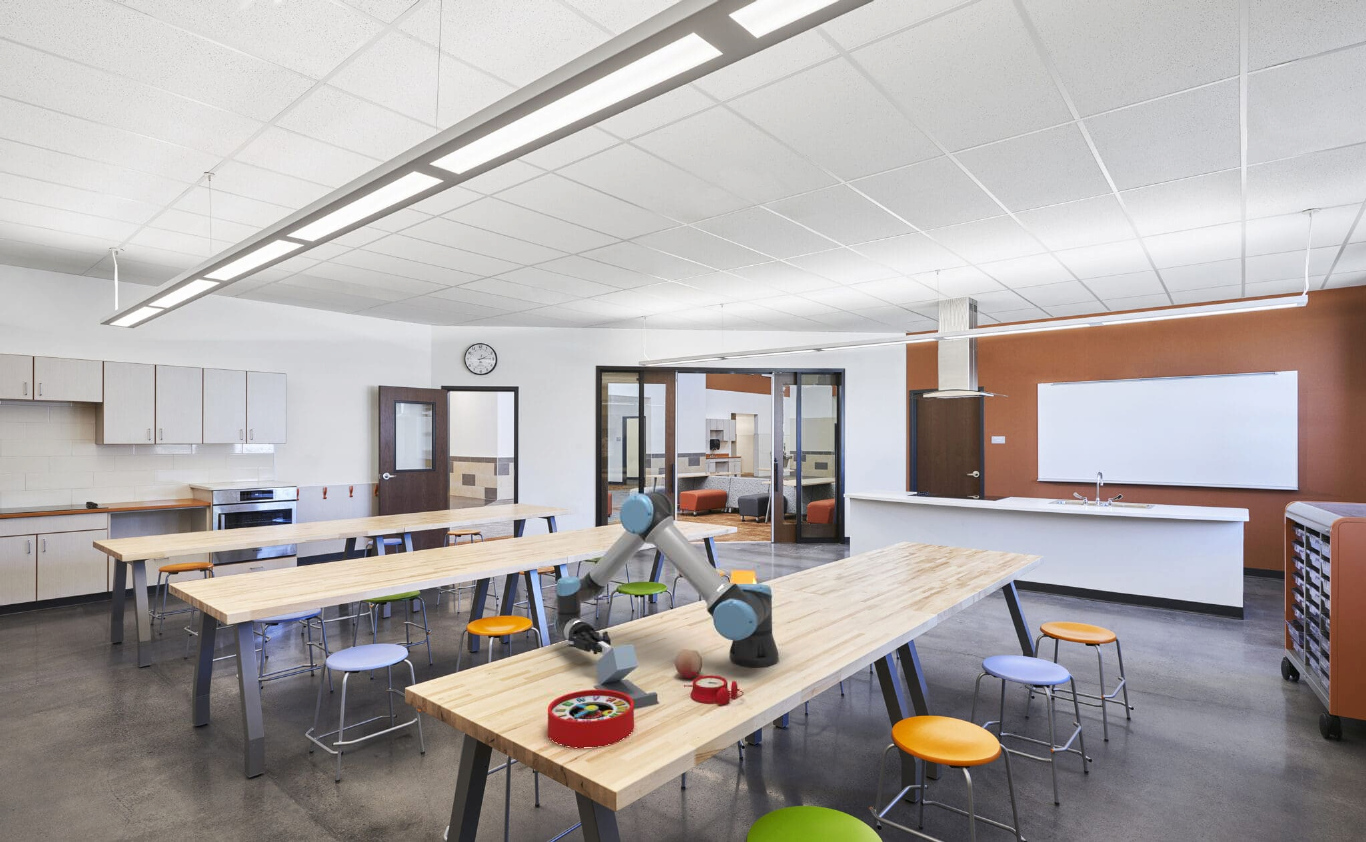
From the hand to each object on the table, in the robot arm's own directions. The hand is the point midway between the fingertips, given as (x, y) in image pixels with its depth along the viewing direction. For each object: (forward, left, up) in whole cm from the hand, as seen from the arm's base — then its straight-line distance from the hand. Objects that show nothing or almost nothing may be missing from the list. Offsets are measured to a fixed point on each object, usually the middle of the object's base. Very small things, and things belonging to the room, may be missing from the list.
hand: (609, 651), depth 185 cm
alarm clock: (-31, -5, -9) cm, 33 cm away
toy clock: (-15, +27, -9) cm, 32 cm away
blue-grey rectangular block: (+1, -1, -6) cm, 6 cm away
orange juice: (-7, -73, -9) cm, 74 cm away
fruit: (-17, -15, -9) cm, 24 cm away
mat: (-9, +5, -9) cm, 14 cm away
